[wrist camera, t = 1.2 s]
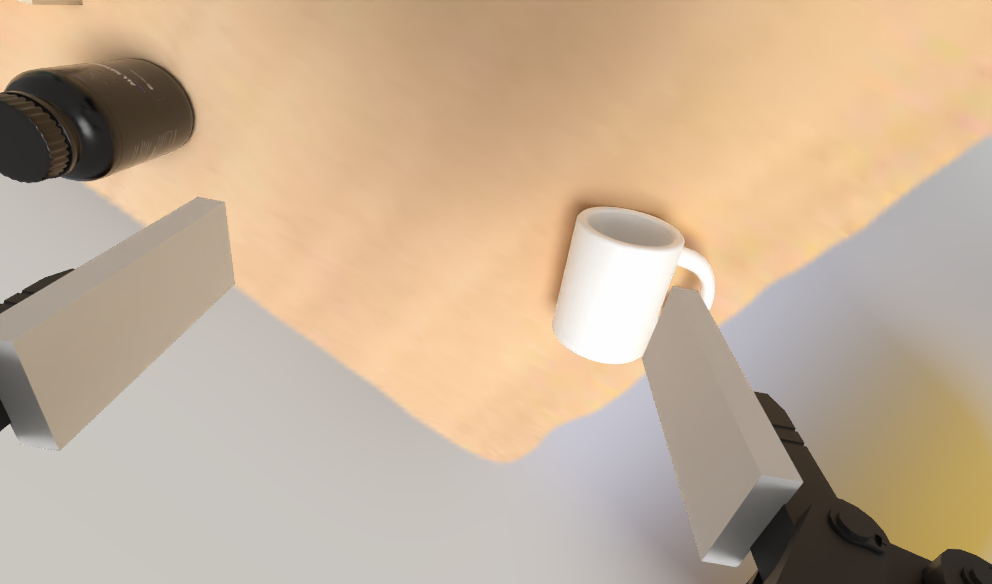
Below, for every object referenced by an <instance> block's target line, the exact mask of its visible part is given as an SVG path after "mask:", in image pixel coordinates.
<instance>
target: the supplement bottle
mask: <svg viewBox="0 0 992 584" xmlns="http://www.w3.org/2000/svg"><path fill="white" fill-rule="evenodd" d="M192 126H193V115H192V110H191V106H190V103H189V101H188V99H187V97H186V95H185V93H184V91H183V90H182V88H181V87H180V85H179V84H178V83H177V82H176V81H175V80H174V79H173V78H172V77H171V76H170V75H169V74H168V73H167V72H165V71H164V70H162V69H161V68H160V67H158V66H156V65H154V64H152V63H149V62H147V61H143V60H139V59H119V60H109V61H100V62H92V63H83V64H75V65H66V66H58V67H49V68H41V69H35V70H29V71H26V72H23V73H21V74H19V75H17V76H16V77H14V78H13V79H12V80H11V81H10V82H9V84H8V85H7V87H6V88H5V90H4V92H2V93H0V173H1V174H3V175H4V176H7V177H9V178H11V179H12V180H17V181H19V182H27V183H32V182H40V181H43V180H46V179H49V178H57V177H62V178H66V179H70V180H75V181H93V180H97V179H101V178H104V177H107V176H109V175H112V174H115V173H117V172H120V171H122V170H125V169H128V168H130V167H133V166H135V165H138V164H141V163H143V162H146V161H148V160H151V159H154V158H156V157H159V156H161V155H164V154H167V153H169V152H171V151H174V150H176V149H178V148H179V147H181V146H182V145H183V144H184V143H185V142H186V141H187V140H188V138H189V136H190V134H191V131H192Z"/></svg>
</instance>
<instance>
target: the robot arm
mask: <svg viewBox="0 0 992 584" xmlns="http://www.w3.org/2000/svg"><path fill="white" fill-rule="evenodd" d="M234 284H235V281H234V272H233V264H232V256H231V248H230V240H229V232H228V224H227V216H226V208H225V202H223V201H217V200H212V199H207V198H201V197H197V198H195V199H193V200H192V201H190V202H188V203H187V204H185V205H183V206H182V207H180V208H178V209H177V210H175V211H173V212H171V213H170V214H168V215H166V216H165V217H163V218H161V219H160V220H158V221H156V222H155V223H153V224H151V225H149V226H148V227H146V228H144V229H143V230H141V231H139V232H138V233H136V234H134V235H133V236H131V237H129V238H128V239H126V240H124V241H122V242H121V243H119V244H117V245H116V246H114V247H112V248H111V249H109V250H107V251H106V252H104V253H102V254H101V255H99V256H97V257H95V258H94V259H92V260H90V261H89V262H87V263H85V264H84V265H82V266H80V267H79V268H77V269H69V270H67V271H63V272H61V273H57V274H54V275H52V276H48V277H45V278H43V279H41V280H39V281H38V282H36V283H34V284H32V285H31V286H29V287H27V288H25V289H24V290H22V293H17V294H15V295H13V296H11V297H10V298H8V299H6V300H5V301H4V303H3V304H0V431H1V430H2V429H4V427H6V426H7V425H9V424H11V426H12V428H13V430H14V433H15V434H16V437H17V439H18V441H19V443H20V445H26V446H32V447H38V448H44V449H50V450H56V451H60V450H61V449H62V448H63V447H64V446H65V445H66V444H67V443H68V442H70V441H71V440H72V439H73V438H74V437H75V436H76V435H77V434H78V433H79V432H80V431H81V430H82V429H83V428H84V427H85V426H86V425H87V424H88V423H89V422H90V421H92V420H93V419H94V418H95V417H96V415H98V414H99V413H100V412H101V411H102V410H103V409H104V408H105V407H106V406H107V405H108V404H109V403H110V402H112V401H113V400H114V399H115V398H116V397H117V396H118V395H119V394H120V393H121V392H122V391H123V390H124V389H125V388H126V387H127V386H128V385H129V384H130V383H131V382H132V381H133V380H134V379H136V378H137V377H138V376H139V375H140V374H141V373H142V372H143V371H144V370H145V369H146V368H147V367H148V366H149V365H150V364H151V363H152V362H153V361H155V360H156V359H157V357H159V356H160V355H161V354H162V353H163V352H164V351H165V350H166V349H167V348H168V347H169V346H170V345H171V344H172V343H173V342H174V341H175V340H176V339H178V337H180V336H181V335H182V334H183V333H184V332H185V331H186V330H187V329H188V328H189V327H190V326H191V325H192V324H193V323H194V322H195V321H196V320H197V319H199V317H201V316H202V315H203V314H204V313H205V312H206V311H207V310H208V309H209V308H210V307H211V306H212V305H213V304H214V303H215V302H216V301H217V300H218V299H220V298H221V297H222V296H223V295H224V294H225V293H226V292H227V291H228V290H229V289H230V288H231V287H232V286H233V285H234ZM642 360H643V364H644V367H645V371H646V374H647V377H648V381H649V384H650V387H651V391H652V394H653V398H654V401H655V404H656V408H657V411H658V415H659V418H660V422H661V425H662V428H663V432H664V435H665V439H666V442H667V446H668V449H669V452H670V456H671V459H672V463H673V466H674V469H675V473H676V476H677V479H678V483H679V486H680V490H681V493H682V497H683V500H684V503H685V507H686V510H687V514H688V517H689V520H690V524H691V527H692V530H693V534H694V537H695V541H696V544H697V548H698V551H699V555H700V558H701V561H704V562H710V563H716V564H722V565H728V566H734V567H738V566H739V564H740V563H741V562H742V560H743V559H744V558H745V557H746V555H747V554H748V553H749V551H750V550H751V552H752V555H753V557H754V560H755V562H756V565H757V568H758V570H757V571H756V572H755V574H754V575H753V576H752V577H751V578H750V580H749V581H748V582H747V583H746V584H992V564H990V563H988V562H986V561H985V560H983V559H981V558H980V557H978V556H976V555H974V554H971V553H968V552H966V551H963V550H960V549H959V550H958V549H947V550H946V551H945V552H943V553H942V554H940V555H939V556H938V557H937V558H936V559H935V560H934V561H930V560H928V559H925V558H923V557H921V556H918V555H916V554H914V553H912V552H909V551H907V550H905V549H902V548H900V547H898V546H895V545H893V544H891V543H890V542H889V540H888V538H887V536H886V534H885V533H884V531H883V530H882V529H881V528H880V527H879V526H878V525H877V523H876V522H875V521H874V520H873V519H872V518H871V517H870V516H868V515H867V514H866V513H864V512H863V511H862V510H860V509H859V508H858V507H856V506H854V505H852V504H850V503H848V502H846V501H844V500H842V499H838V498H837V497H836V495H835V493H834V492H833V490H832V488H831V487H830V485H829V483H828V482H827V480H826V479H825V477H824V475H823V473H822V472H821V470H820V468H819V467H818V465H817V463H816V462H815V460H814V458H813V457H812V455H811V453H810V452H809V450H808V448H807V447H805V446H804V442H803V440H802V438H801V437H800V435H799V433H798V432H795V427H794V425H793V424H792V422H791V420H790V419H789V417H788V415H787V414H786V412H785V410H783V409H782V408H781V407H780V406H779V405H778V404H777V403H776V402H775V401H774V400H773V399H772V398H771V397H770V396H769V395H768V394H765V393H759V392H754V391H753V390H752V388H751V386H750V384H749V383H748V381H747V379H746V377H745V375H744V374H743V372H742V370H741V368H740V366H739V365H738V363H737V361H736V359H735V357H734V355H733V354H732V352H731V350H730V348H729V346H728V345H727V343H726V341H725V339H724V337H723V335H722V334H721V332H720V330H719V328H718V326H717V325H716V323H715V321H714V319H713V317H712V316H711V314H710V312H709V310H708V308H707V306H706V305H705V303H704V301H703V299H702V297H701V296H700V294H699V292H698V291H696V290H691V289H685V288H680V287H675V286H672V289H671V291H670V293H669V296H668V298H667V300H666V303H665V305H664V307H663V310H662V312H661V315H660V317H659V319H658V322H657V324H656V326H655V329H654V331H653V333H652V336H651V338H650V340H649V343H648V345H647V348H646V350H645V352H644V355H643V357H642Z"/></svg>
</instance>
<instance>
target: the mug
mask: <svg viewBox="0 0 992 584" xmlns="http://www.w3.org/2000/svg"><path fill="white" fill-rule="evenodd" d="M684 243H685V242H684V237H683V235H682V234H681V233H680V232H679V231H678V230H677V229H676V228H675V227H674V226H672V225H670V224H669V223H667V222H665V221H663V220H661V219H659V218H657V217H654V216H652V215H649V214H646V213H642V212H639V211H635V210H630V209H625V208H618V207H593V208H589V209H586V210H584V211H582V212H581V213H579V215H578V216H577V219H576V223H575V228H574V232H573V236H572V241H571V245H570V249H569V253H568V258H567V262H566V266H565V270H564V275H563V279H562V283H561V288H560V292H559V296H558V300H557V305H556V309H555V313H554V318H553V322H552V327H553V331H554V334H555V336H556V337H557V339H558V340H559V341H560V342H561V343H562V344H563V345H564V346H565V347H566V348H568V349H569V350H571V351H572V352H574V353H576V354H578V355H580V356H582V357H584V358H587V359H590V360H593V361H596V362H601V363H608V364H623V363H628V362H632V361H634V360H637V359H638V358H640V357H641V356H642V355H643V354H644V352H645V350H646V348H647V345H648V343H649V340H650V337H651V335H652V333H653V331H654V329H655V326H656V324H657V322H658V319H659V317H660V316H658V315H659V313H660V310H661V307H662V304H663V302H664V299H665V296H666V293H667V291H668V288H669V285H670V282H671V280H672V277H673V274H674V271H675V269H676V266H680V267H683V268H686V269H688V270H690V271H692V272H693V273H695V274H696V275H697V276H698V277H699V279H700V280H701V291H700V296H701V297H702V299H703V301H704V303H705V305H706V306H707V308H708V310H710V308H711V306H712V303H713V300H714V295H715V279H714V274H713V271H712V268H711V266H710V264H709V263H708V261H707V260H706V259H705V258H704V257H703V256H702V255H701V254H699V253H698V252H696V251H694V250H692V249H689V248H686V247H684Z"/></svg>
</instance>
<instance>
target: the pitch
mask: <svg viewBox="0 0 992 584" xmlns="http://www.w3.org/2000/svg"><path fill="white" fill-rule="evenodd" d="M16 1H20V2H25V3H29V4H42V5H82V1H81V0H16Z"/></svg>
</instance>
